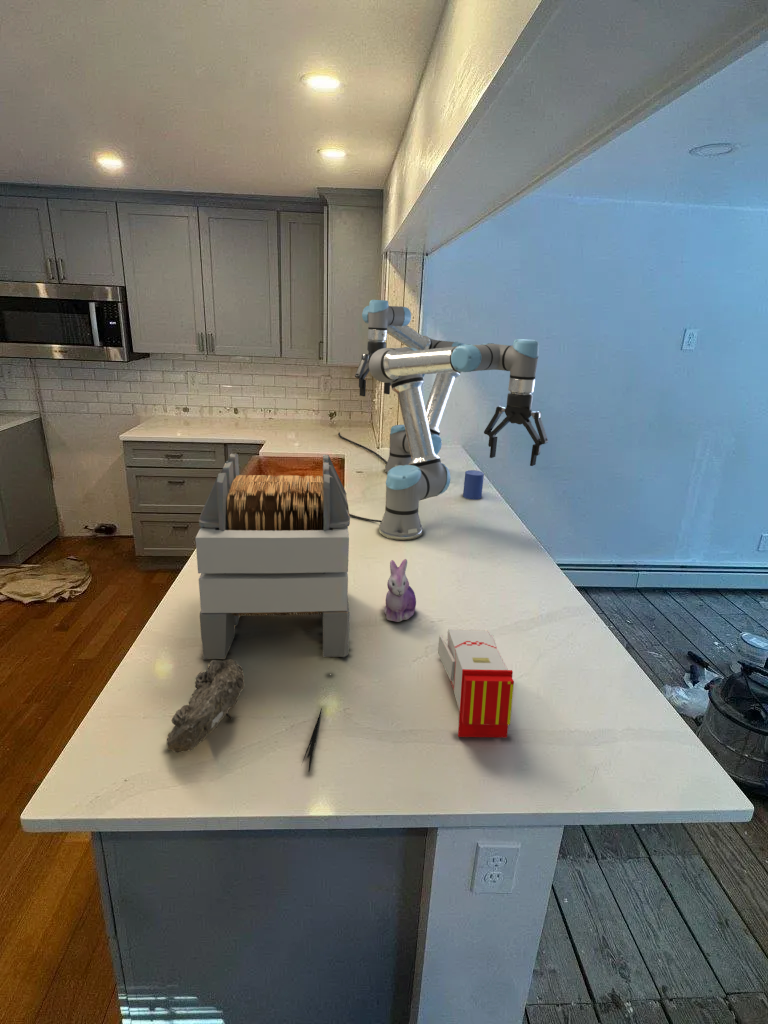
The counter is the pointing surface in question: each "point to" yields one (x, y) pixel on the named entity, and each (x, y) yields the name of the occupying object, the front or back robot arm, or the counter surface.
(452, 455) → the counter surface
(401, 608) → the figurine
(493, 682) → the toy
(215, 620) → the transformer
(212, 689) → the fossil
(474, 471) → the cylinder
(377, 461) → the counter surface
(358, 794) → the counter surface
